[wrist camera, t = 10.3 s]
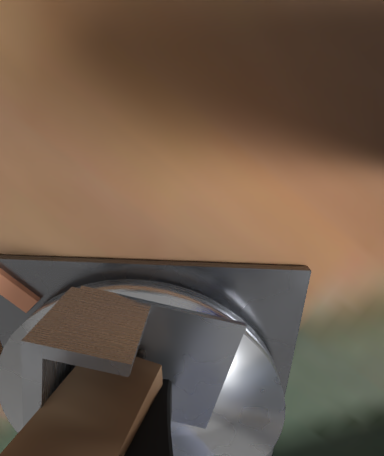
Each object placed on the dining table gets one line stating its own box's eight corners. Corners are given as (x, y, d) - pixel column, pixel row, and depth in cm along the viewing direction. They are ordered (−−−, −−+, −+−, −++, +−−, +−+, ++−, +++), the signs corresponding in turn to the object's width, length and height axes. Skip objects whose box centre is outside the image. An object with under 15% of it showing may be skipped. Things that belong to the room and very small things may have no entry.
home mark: (40, 298, 11) (37, 301, 11) (29, 309, 11) (26, 313, 11) (-11, 259, 10) (-16, 261, 10) (-22, 272, 11) (-26, 275, 11)
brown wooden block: (161, 365, 9) (46, 600, 4) (164, 414, 10) (75, 642, 5) (95, 343, 10) (-59, 521, 5) (105, 391, 11) (-14, 571, 6)
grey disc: (233, 489, 15) (242, 598, 11) (15, 445, 14) (-47, 544, 11) (325, 319, 10) (391, 413, 7) (7, 246, 10) (-107, 304, 6)
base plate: (265, 468, 15) (267, 476, 15) (44, 452, 16) (40, 459, 16) (307, 266, 10) (311, 270, 10) (-20, 253, 11) (-28, 257, 11)
